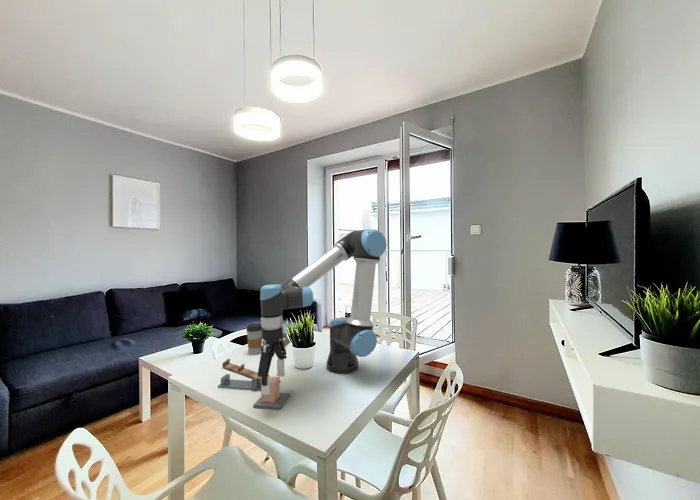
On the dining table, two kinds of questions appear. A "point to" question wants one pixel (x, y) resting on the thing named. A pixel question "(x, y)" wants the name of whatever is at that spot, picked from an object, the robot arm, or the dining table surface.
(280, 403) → the pad
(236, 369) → the lever
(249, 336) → the coffee cup
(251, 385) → the fulcrum
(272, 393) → the block
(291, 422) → the dining table surface
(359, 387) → the dining table surface
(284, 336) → the rock tray
